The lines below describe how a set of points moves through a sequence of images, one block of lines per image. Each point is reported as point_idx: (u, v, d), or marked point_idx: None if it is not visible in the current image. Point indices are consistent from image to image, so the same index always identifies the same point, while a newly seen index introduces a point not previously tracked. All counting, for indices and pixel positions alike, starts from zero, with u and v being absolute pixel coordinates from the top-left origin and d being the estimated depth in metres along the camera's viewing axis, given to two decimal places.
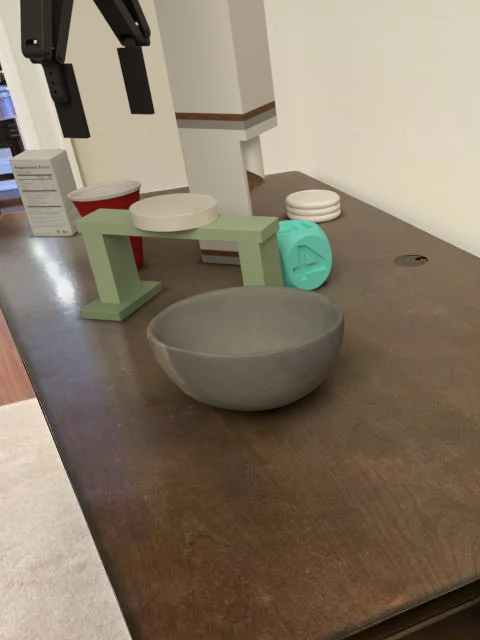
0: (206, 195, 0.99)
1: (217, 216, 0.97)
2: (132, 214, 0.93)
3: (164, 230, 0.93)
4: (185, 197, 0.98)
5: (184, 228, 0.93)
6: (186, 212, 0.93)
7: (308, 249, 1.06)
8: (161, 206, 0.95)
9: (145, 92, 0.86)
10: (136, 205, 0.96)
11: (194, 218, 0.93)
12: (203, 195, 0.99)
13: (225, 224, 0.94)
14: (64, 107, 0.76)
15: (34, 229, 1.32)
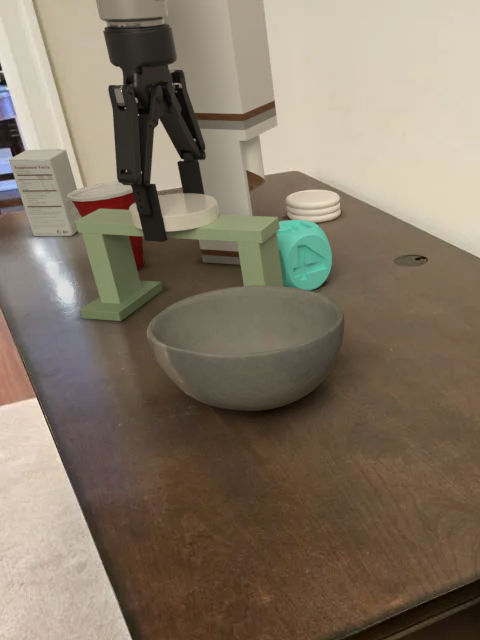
0: (206, 195, 0.99)
1: (217, 216, 0.97)
2: (132, 214, 0.93)
3: None
4: (185, 197, 0.98)
5: (184, 228, 0.93)
6: (186, 212, 0.93)
7: (308, 249, 1.06)
8: (161, 206, 0.95)
9: None
10: (136, 205, 0.96)
11: (194, 218, 0.93)
12: (203, 195, 0.99)
13: (225, 224, 0.94)
14: (147, 217, 0.91)
15: (34, 229, 1.32)
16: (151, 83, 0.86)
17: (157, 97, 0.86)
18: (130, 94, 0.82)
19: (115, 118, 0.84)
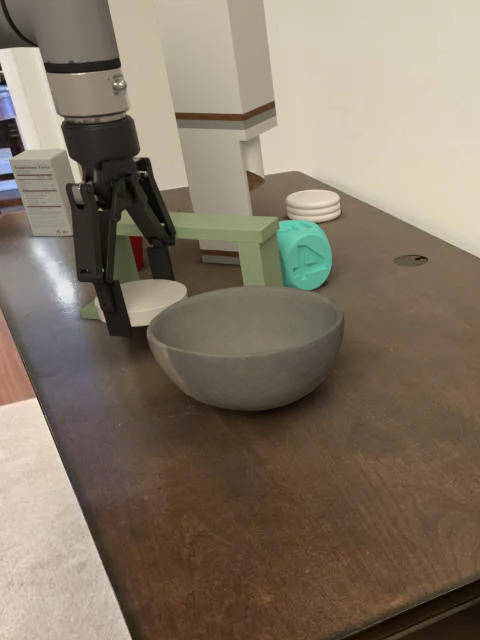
0: (176, 282, 0.94)
1: None
2: (97, 307, 0.89)
3: None
4: (154, 285, 0.94)
5: None
6: (153, 306, 0.88)
7: (308, 249, 1.06)
8: (128, 297, 0.90)
9: None
10: None
11: (161, 311, 0.88)
12: (173, 282, 0.94)
13: (225, 224, 0.94)
14: (111, 313, 0.86)
15: (34, 229, 1.32)
16: (113, 176, 0.82)
17: (119, 191, 0.82)
18: (88, 193, 0.78)
19: (74, 217, 0.79)
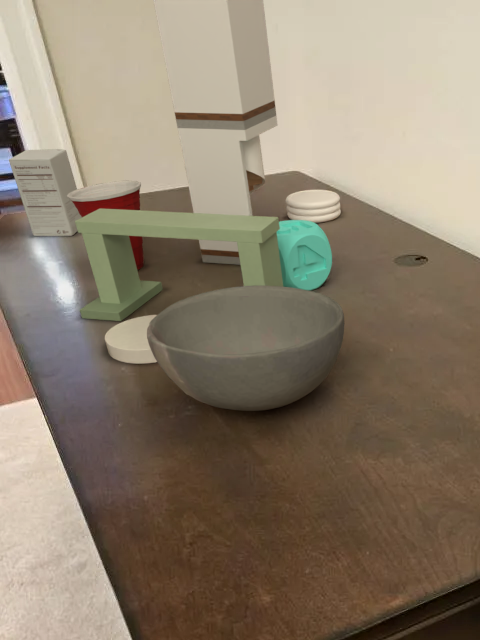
0: None
1: None
2: (107, 344, 0.92)
3: (140, 362, 0.91)
4: None
5: None
6: None
7: (308, 249, 1.06)
8: (137, 334, 0.93)
9: None
10: (112, 332, 0.94)
11: None
12: None
13: (225, 224, 0.94)
14: None
15: (34, 229, 1.32)
16: None
17: None
18: None
19: None
